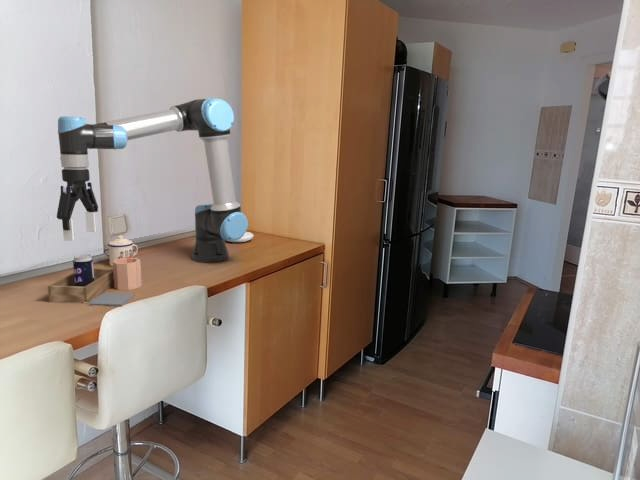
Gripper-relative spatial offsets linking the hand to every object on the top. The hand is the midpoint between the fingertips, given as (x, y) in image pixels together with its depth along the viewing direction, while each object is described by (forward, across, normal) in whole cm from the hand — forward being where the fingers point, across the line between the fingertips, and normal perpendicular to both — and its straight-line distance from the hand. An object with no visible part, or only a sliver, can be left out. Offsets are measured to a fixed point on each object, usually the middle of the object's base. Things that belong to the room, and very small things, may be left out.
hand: (80, 236), depth 148 cm
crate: (+19, 0, 0) cm, 19 cm away
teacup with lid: (+19, -35, -2) cm, 40 cm away
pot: (+19, -7, +11) cm, 23 cm away
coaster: (+19, +7, +12) cm, 23 cm away
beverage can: (+19, 0, 0) cm, 19 cm away
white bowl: (+19, -83, +34) cm, 92 cm away
